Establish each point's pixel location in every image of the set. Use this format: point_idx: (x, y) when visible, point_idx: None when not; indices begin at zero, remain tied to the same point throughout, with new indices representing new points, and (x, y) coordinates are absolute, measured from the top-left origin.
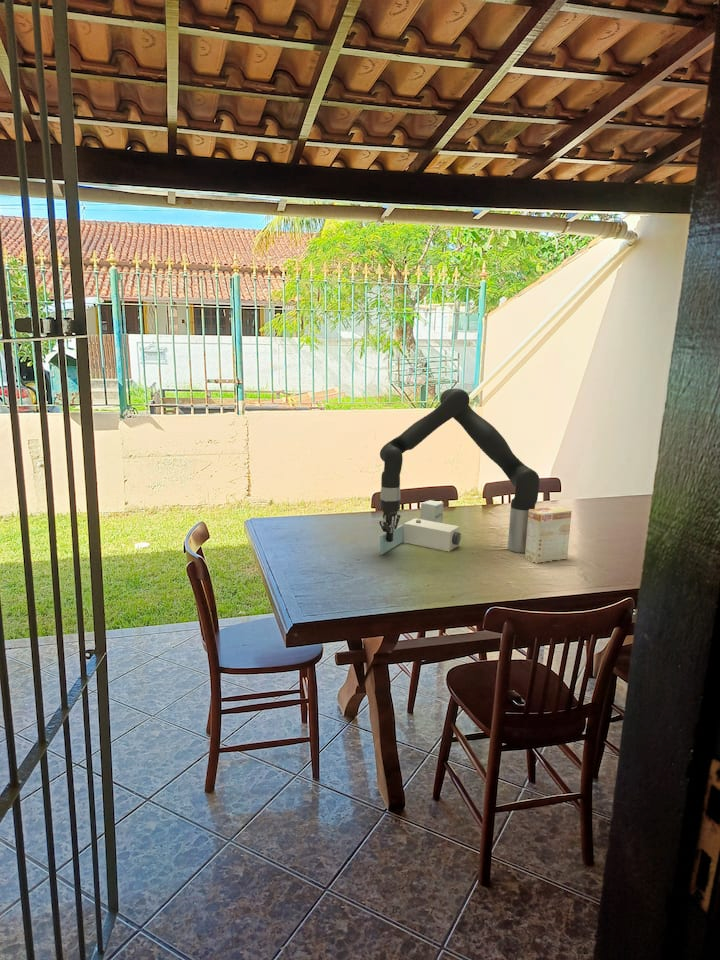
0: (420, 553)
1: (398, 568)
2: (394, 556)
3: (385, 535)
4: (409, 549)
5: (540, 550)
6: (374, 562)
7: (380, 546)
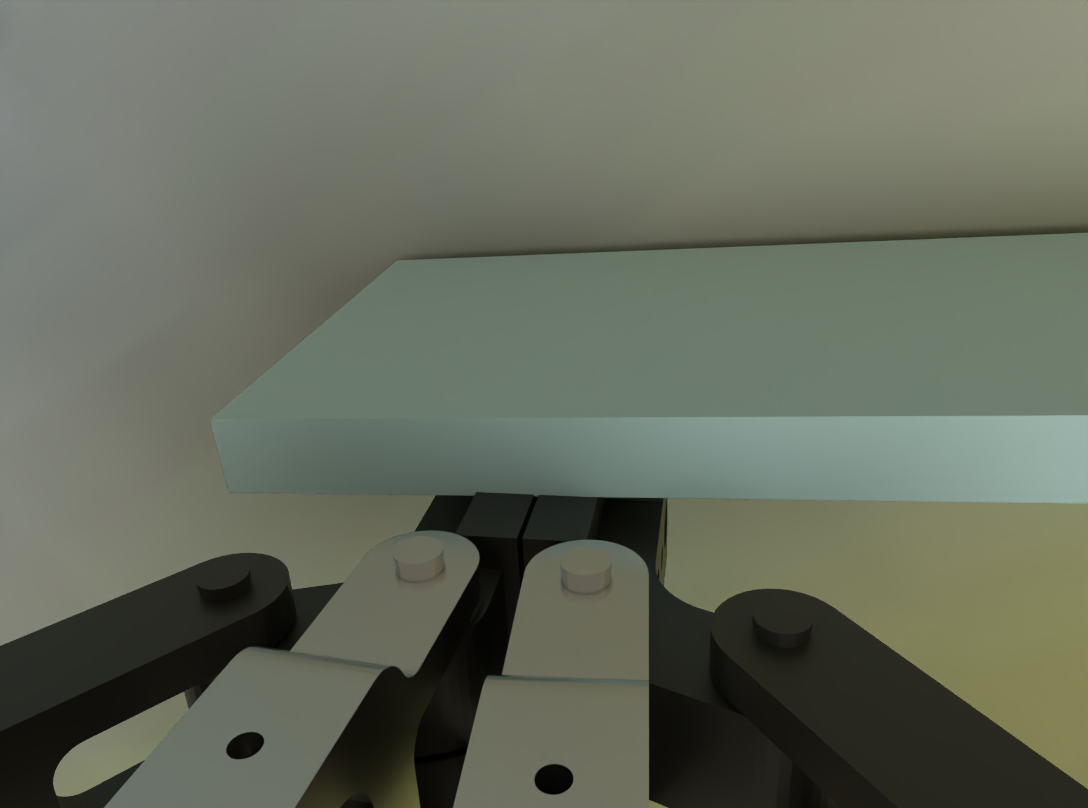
0: None
1: (173, 702)
2: None
3: (410, 488)
4: (1066, 546)
5: None
6: (87, 345)
7: (340, 319)
